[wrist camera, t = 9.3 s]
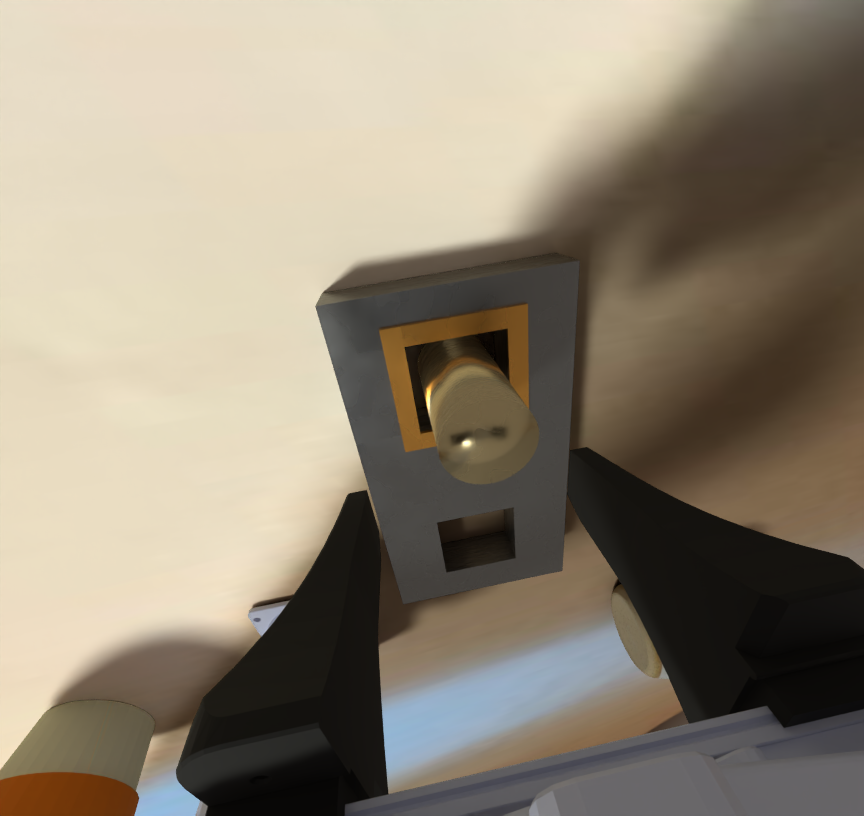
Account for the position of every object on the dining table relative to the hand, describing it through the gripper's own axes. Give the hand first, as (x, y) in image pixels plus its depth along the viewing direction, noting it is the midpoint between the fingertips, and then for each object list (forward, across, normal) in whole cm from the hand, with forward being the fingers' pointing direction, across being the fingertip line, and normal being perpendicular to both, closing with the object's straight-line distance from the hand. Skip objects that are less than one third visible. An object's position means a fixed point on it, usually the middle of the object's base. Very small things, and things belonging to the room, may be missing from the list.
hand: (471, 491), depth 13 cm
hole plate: (+10, -1, +6) cm, 11 cm away
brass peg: (+10, -1, 0) cm, 10 cm away
